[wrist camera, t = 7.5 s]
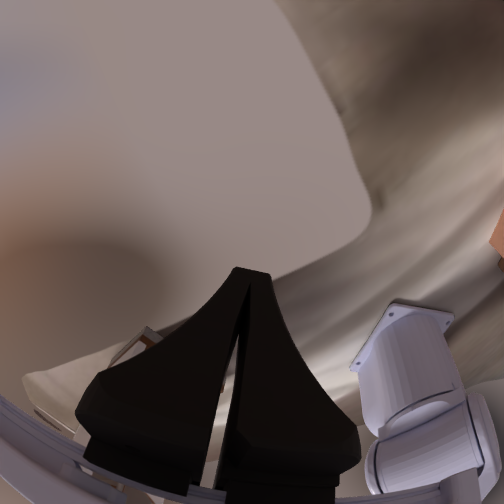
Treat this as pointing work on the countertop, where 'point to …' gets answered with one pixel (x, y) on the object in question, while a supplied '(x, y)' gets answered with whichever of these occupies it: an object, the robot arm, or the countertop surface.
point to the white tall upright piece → (136, 499)
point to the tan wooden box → (501, 264)
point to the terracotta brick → (498, 236)
